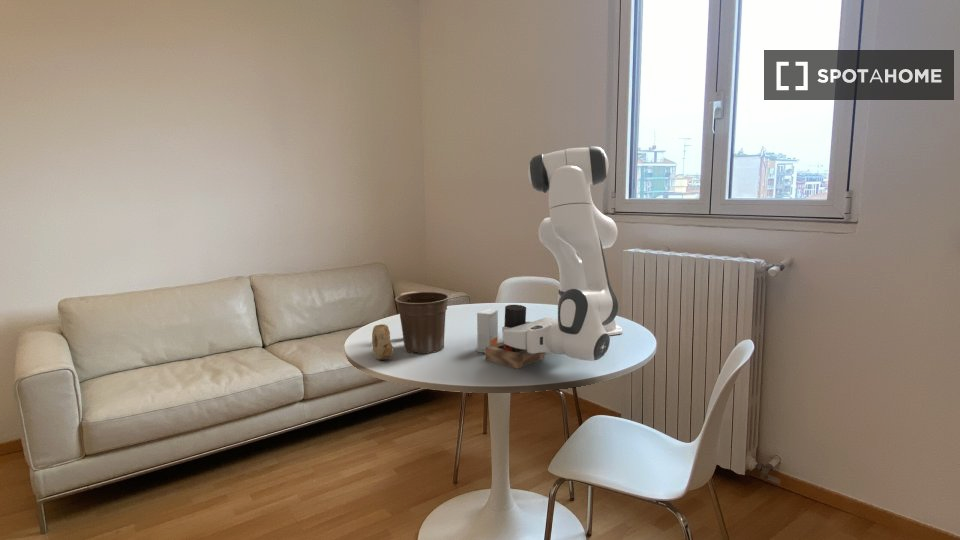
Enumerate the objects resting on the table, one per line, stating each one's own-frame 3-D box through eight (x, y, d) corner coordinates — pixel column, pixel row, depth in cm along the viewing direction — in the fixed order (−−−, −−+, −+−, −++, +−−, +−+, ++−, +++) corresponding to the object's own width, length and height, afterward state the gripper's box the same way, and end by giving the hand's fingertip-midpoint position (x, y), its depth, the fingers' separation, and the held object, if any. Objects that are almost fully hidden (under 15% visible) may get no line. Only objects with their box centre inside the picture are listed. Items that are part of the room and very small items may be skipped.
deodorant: (527, 360, 154) (529, 309, 151) (508, 362, 152) (510, 310, 149) (517, 353, 160) (520, 304, 157) (499, 355, 157) (501, 305, 154)
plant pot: (413, 360, 156) (411, 305, 153) (387, 347, 169) (385, 296, 166) (460, 349, 165) (459, 297, 163) (432, 337, 178) (431, 289, 176)
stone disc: (370, 355, 161) (368, 322, 159) (382, 353, 163) (381, 320, 161) (381, 364, 152) (380, 330, 150) (394, 362, 154) (392, 328, 152)
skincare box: (489, 353, 161) (489, 314, 159) (477, 351, 163) (476, 312, 161) (498, 348, 166) (498, 309, 164) (486, 346, 168) (485, 308, 166)
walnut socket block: (544, 358, 156) (544, 346, 155) (517, 368, 147) (517, 356, 147) (512, 349, 164) (512, 338, 163) (485, 359, 155) (485, 347, 155)
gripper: (573, 317, 152) (535, 309, 162) (527, 331, 138) (488, 322, 147) (573, 338, 153) (535, 330, 162) (527, 355, 138) (488, 344, 148)
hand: (512, 326), depth 155 cm, fingers closed on deodorant, 6 cm apart
